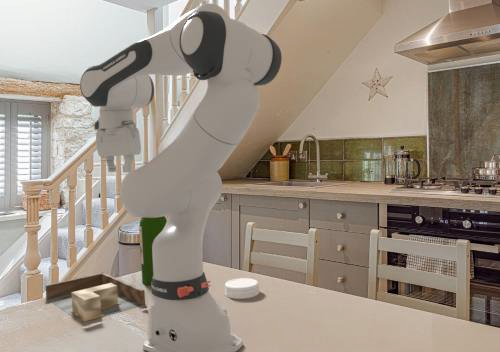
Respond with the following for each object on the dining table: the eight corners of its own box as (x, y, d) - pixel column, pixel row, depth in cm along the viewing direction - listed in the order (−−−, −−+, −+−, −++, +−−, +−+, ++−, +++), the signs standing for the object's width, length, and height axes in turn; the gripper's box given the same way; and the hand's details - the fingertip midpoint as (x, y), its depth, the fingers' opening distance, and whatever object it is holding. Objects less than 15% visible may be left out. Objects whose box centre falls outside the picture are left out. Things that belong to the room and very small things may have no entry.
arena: (145, 306, 118) (144, 290, 117) (81, 325, 106) (80, 307, 106) (103, 286, 138) (103, 272, 137) (46, 300, 126) (45, 285, 126)
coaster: (262, 289, 129) (262, 278, 129) (254, 300, 120) (254, 288, 119) (231, 288, 132) (230, 276, 131) (220, 299, 122) (220, 287, 122)
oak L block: (111, 300, 122) (110, 282, 121) (126, 307, 115) (125, 289, 115) (72, 310, 114) (71, 292, 114) (85, 319, 108) (84, 300, 107)
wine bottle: (141, 280, 142) (136, 183, 140) (168, 277, 145) (164, 181, 143) (143, 288, 134) (137, 185, 132) (172, 285, 136) (167, 183, 135)
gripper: (145, 119, 113) (148, 171, 114) (112, 125, 128) (114, 171, 129) (123, 118, 109) (126, 173, 110) (91, 124, 124) (93, 172, 125)
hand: (119, 172), depth 119 cm, fingers open, 8 cm apart
